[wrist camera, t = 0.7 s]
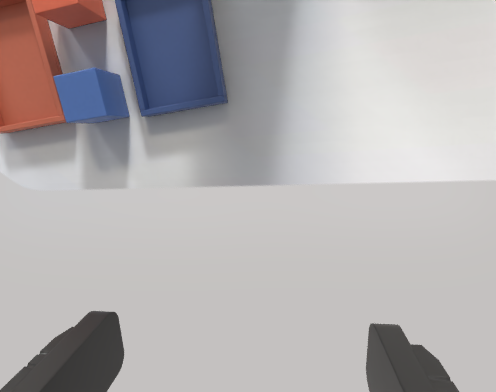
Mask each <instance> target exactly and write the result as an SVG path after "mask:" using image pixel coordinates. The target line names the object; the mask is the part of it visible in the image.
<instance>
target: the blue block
mask: <svg viewBox="0 0 496 392" xmlns="http://www.w3.org/2000/svg"><path fill="white" fill-rule="evenodd" d="M53 77H54V81H55V84H56V88H57V91H58V95H59V98H60V102H61V105H62V109H63V112H64V116H65V119H66V122H67V123H98V122H104V121H109V120H115V119H120V118H126V117H129V113H128V108H127V104H126V100H125V96H124V92H123V87H122V83H121V79H120V75H117V74H114V73H111V72H107V71H104V70H101V69H97V68H90V69H85V70H80V71H76V72H71V73H66V74H61V75H57V76H53Z"/></svg>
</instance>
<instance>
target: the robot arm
mask: <svg viewBox="0 0 496 392" xmlns="http://www.w3.org/2000/svg"><path fill="white" fill-rule="evenodd" d="M123 359H124V348H123V342H122V336H121V330H120V324H119V318H118V315H117V314H116V313H115V312H103V311H102V312H101V311H91V312H89V313H88V314H87V315H86V316H85V317H84V318H83V319H82V320H81V321H80V322H79V323H78V324H77V325H76V326H75V327H71V328H70V329H68V330H66V331H65V332H63V333H62V334H60V335H59V336H57V337H55V338H54V339H53V340H52V341H51V342H50V343H49V344H48V345H47V346H46V347H45V348H44V349H42V350H41V351H40V354H39V355H36V356H35V357H34V358H33V359H32V360H31V361H30V362H29V363H28V366H27V367H24V368H23V369H22V370H21V371H19V373H17V374H16V376H14V377H13V378H12V379H11V380H10V381H9V382H8V383H7V384H6V385H5V386H4V387H3V388H2V389H1V390H0V392H107V390H108V389H109V387H110V385H111V384H112V382H113V381H114V379H115V378H116V376H117V375H118V373H119V371H120V369H121V367H122V364H123ZM366 374H367V382H368V387H369V391H370V392H459V391H458V389H457V388H456V386H455V385H454V383H453V382H451V381H450V377H449V375H448V374H447V372H446V371H445V369H444V368H443V366H442V365H441V363H440V362H439V360H438V359H436V357H434V356H433V355H432V354H431V353H430V352H429V351H427V350H426V349H425V348H424V347H423V346H422V345H410V343H409V342H408V340H407V338H406V336H405V334H404V333H403V331H402V329H401V327H400V326H399V325H392V324H371V325H370V327H369V336H368V349H367V362H366Z"/></svg>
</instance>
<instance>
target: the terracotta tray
mask: <svg viewBox="0 0 496 392" xmlns="http://www.w3.org/2000/svg"><path fill="white" fill-rule="evenodd" d="M61 74H62V71H61V67H60V64H59V60H58V57H57V53H56V50H55V46H54V42H53V39H52V35H51V32H50V28H49V24H48V21H47V19H46V18H44V17H42V16H39V15H37V14H35V11H34V7H33V4H32V0H0V133H10V132H16V131H21V130H27V129H32V128H38V127H43V126H49V125H54V124H60V123H65V122H66V119H65V116H64V112H63V109H62V105H61V102H60V98H59V95H58V91H57V88H56V84H55V81H54V77H53V76H57V75H61Z"/></svg>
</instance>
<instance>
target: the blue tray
mask: <svg viewBox="0 0 496 392" xmlns="http://www.w3.org/2000/svg"><path fill="white" fill-rule="evenodd" d="M115 3H116V8H117V12H118V16H119V21H120V25H121V29H122V34H123V38H124V42H125V47H126V51H127V55H128V60H129V64H130V69H131V73H132V77H133V82H134V86H135V90H136V95H137V99H138V103H139V108H140V112H141V116H144V117H150V116H156V115H161V114H167V113H173V112H178V111H184V110H189V109H195V108H201V107H206V106H212V105H217V104H223V103H228V100H227V94H226V88H225V82H224V76H223V70H222V64H221V58H220V52H219V46H218V40H217V34H216V28H215V22H214V16H213V10H212V4H211V0H115Z"/></svg>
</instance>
